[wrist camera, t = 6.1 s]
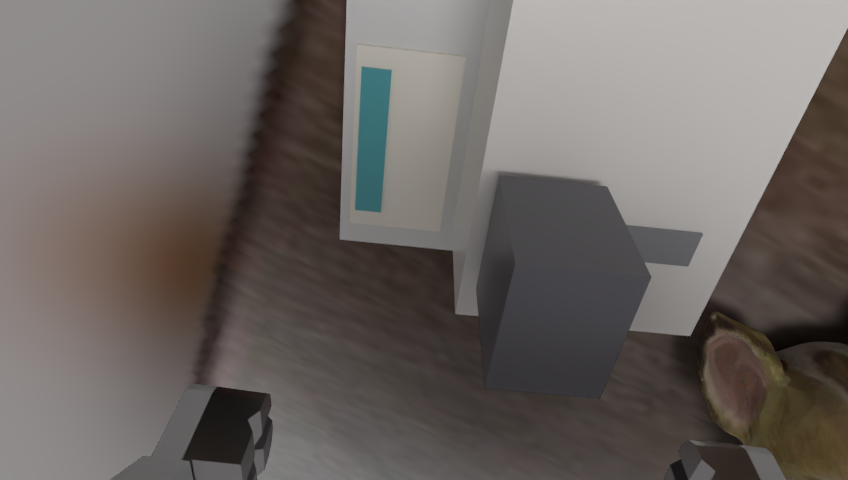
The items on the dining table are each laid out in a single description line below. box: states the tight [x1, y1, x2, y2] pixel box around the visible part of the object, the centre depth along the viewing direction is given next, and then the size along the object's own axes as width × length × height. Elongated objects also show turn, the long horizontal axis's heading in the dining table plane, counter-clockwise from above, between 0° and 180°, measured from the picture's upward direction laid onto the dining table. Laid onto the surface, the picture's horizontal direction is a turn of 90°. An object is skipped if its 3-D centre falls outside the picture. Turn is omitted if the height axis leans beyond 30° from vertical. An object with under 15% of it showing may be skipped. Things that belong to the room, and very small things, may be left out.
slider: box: [476, 175, 651, 399], centre depth 15 cm, size 4×3×4 cm
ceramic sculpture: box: [696, 311, 848, 480], centre depth 26 cm, size 11×9×15 cm
